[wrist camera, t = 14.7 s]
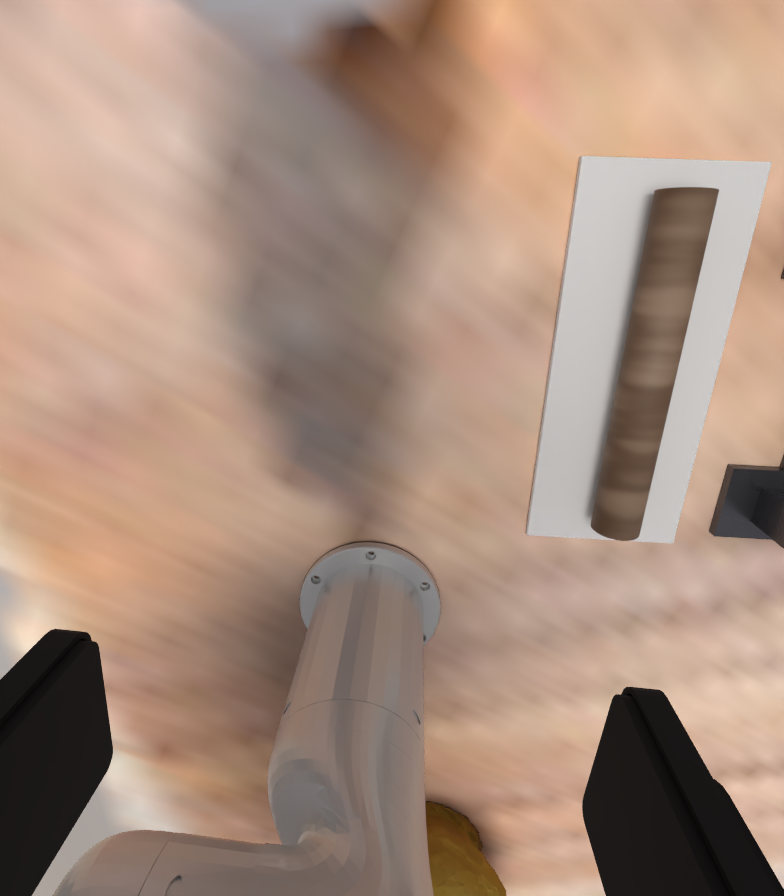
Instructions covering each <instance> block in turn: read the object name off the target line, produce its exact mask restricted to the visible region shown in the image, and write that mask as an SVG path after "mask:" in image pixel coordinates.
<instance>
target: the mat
mask: <svg viewBox="0 0 784 896" xmlns="http://www.w3.org/2000/svg"><path fill="white" fill-rule="evenodd" d="M771 164H772V162H753V161H722V160H691V159H660V158H628V157H597V156H581V157H580V158H579V165H578V172H577V179H576V186H575V193H574V200H573V207H572V214H571V221H570V228H569V235H568V242H567V248H566V255H565V262H564V269H563V276H562V283H561V290H560V297H559V304H558V311H557V318H556V325H555V332H554V339H553V346H552V353H551V360H550V367H549V374H548V381H547V388H546V395H545V401H544V408H543V415H542V422H541V429H540V436H539V443H538V450H537V457H536V464H535V471H534V478H533V485H532V492H531V499H530V506H529V513H528V520H527V527H526V534H527V535H531V536H549V537H567V538H585V539H602V540H614V539H610V538H607V537H604V536H602V535H600V534H598V533H597V532H595V531H594V530H593V529H592V528H591V519H592V514H593V509H594V503H595V498H596V493H597V488H598V482H599V477H600V472H601V467H602V462H603V456H604V451H605V446H606V441H607V436H608V430H609V425H610V420H611V415H612V409H613V404H614V399H615V394H616V389H617V383H618V378H619V373H620V368H621V362H622V357H623V352H624V347H625V342H626V336H627V331H628V326H629V321H630V316H631V310H632V305H633V300H634V295H635V289H636V284H637V279H638V274H639V269H640V263H641V258H642V253H643V248H644V243H645V237H646V232H647V227H648V222H649V216H650V211H651V206H652V201H653V196H654V191H655V190H657V189H663V188H676V187H706V188H716V189H719V193H718V198H717V202H716V206H715V211H714V215H713V219H712V224H711V228H710V232H709V237H708V241H707V245H706V250H705V254H704V258H703V263H702V267H701V271H700V275H699V280H698V284H697V288H696V293H695V297H694V301H693V306H692V310H691V314H690V319H689V323H688V327H687V332H686V336H685V340H684V345H683V349H682V353H681V358H680V362H679V366H678V371H677V375H676V379H675V384H674V388H673V392H672V397H671V401H670V405H669V410H668V414H667V418H666V423H665V427H664V431H663V436H662V440H661V444H660V449H659V453H658V457H657V462H656V466H655V470H654V475H653V479H652V483H651V488H650V492H649V496H648V501H647V505H646V509H645V513H644V518H643V522H642V526H641V531H640V535H639V537H638V538H637V539H635V540H631V541H638V542H656V543H673V542H674V538H675V534H676V530H677V526H678V522H679V518H680V515H681V511H682V507H683V503H684V499H685V495H686V491H687V488H688V484H689V480H690V476H691V472H692V468H693V464H694V461H695V457H696V453H697V449H698V445H699V441H700V437H701V434H702V430H703V426H704V422H705V418H706V414H707V410H708V407H709V403H710V399H711V395H712V391H713V387H714V383H715V380H716V376H717V372H718V368H719V364H720V360H721V356H722V353H723V349H724V345H725V341H726V337H727V333H728V329H729V326H730V322H731V318H732V314H733V310H734V306H735V302H736V299H737V295H738V291H739V287H740V283H741V279H742V275H743V272H744V268H745V264H746V260H747V256H748V252H749V248H750V245H751V241H752V237H753V233H754V229H755V225H756V221H757V218H758V214H759V210H760V206H761V202H762V198H763V194H764V191H765V187H766V183H767V179H768V175H769V171H770V167H771Z"/></svg>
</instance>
